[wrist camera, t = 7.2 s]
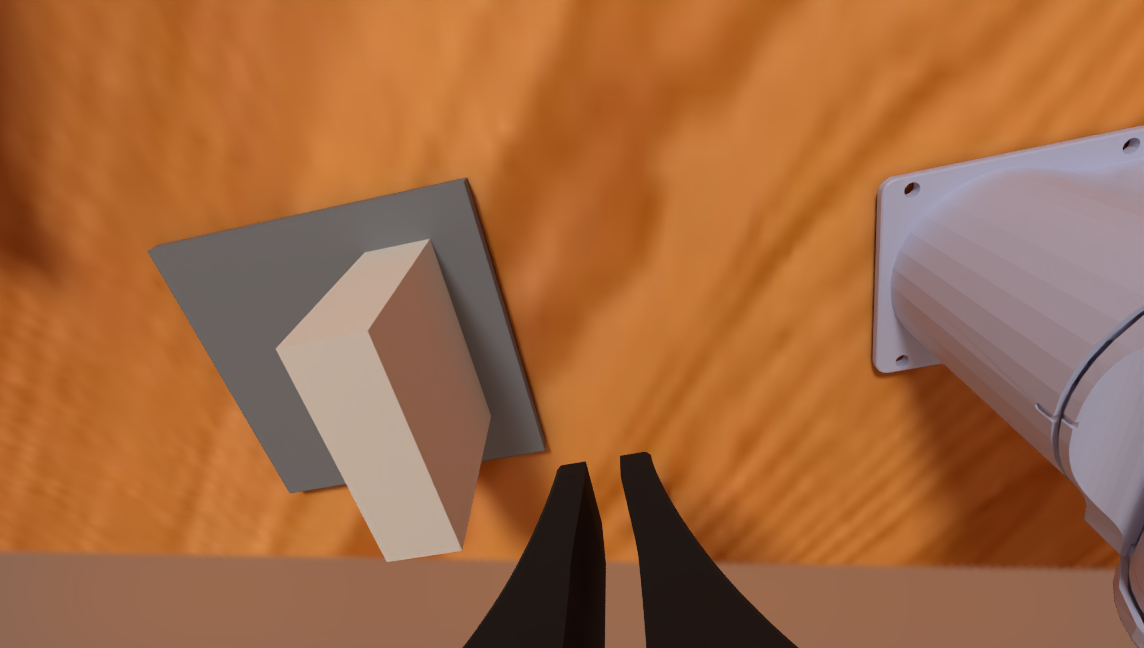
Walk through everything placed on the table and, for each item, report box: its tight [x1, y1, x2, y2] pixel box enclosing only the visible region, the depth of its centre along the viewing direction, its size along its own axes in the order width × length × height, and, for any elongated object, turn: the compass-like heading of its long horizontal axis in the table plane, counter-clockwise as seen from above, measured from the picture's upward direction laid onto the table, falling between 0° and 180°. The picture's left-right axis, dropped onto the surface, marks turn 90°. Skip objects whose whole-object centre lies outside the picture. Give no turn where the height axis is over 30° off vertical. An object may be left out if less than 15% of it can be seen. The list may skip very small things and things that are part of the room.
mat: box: [148, 178, 545, 493], centre depth 23 cm, size 12×12×1 cm
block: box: [276, 239, 491, 562], centre depth 19 cm, size 2×8×7 cm, turn 12°
